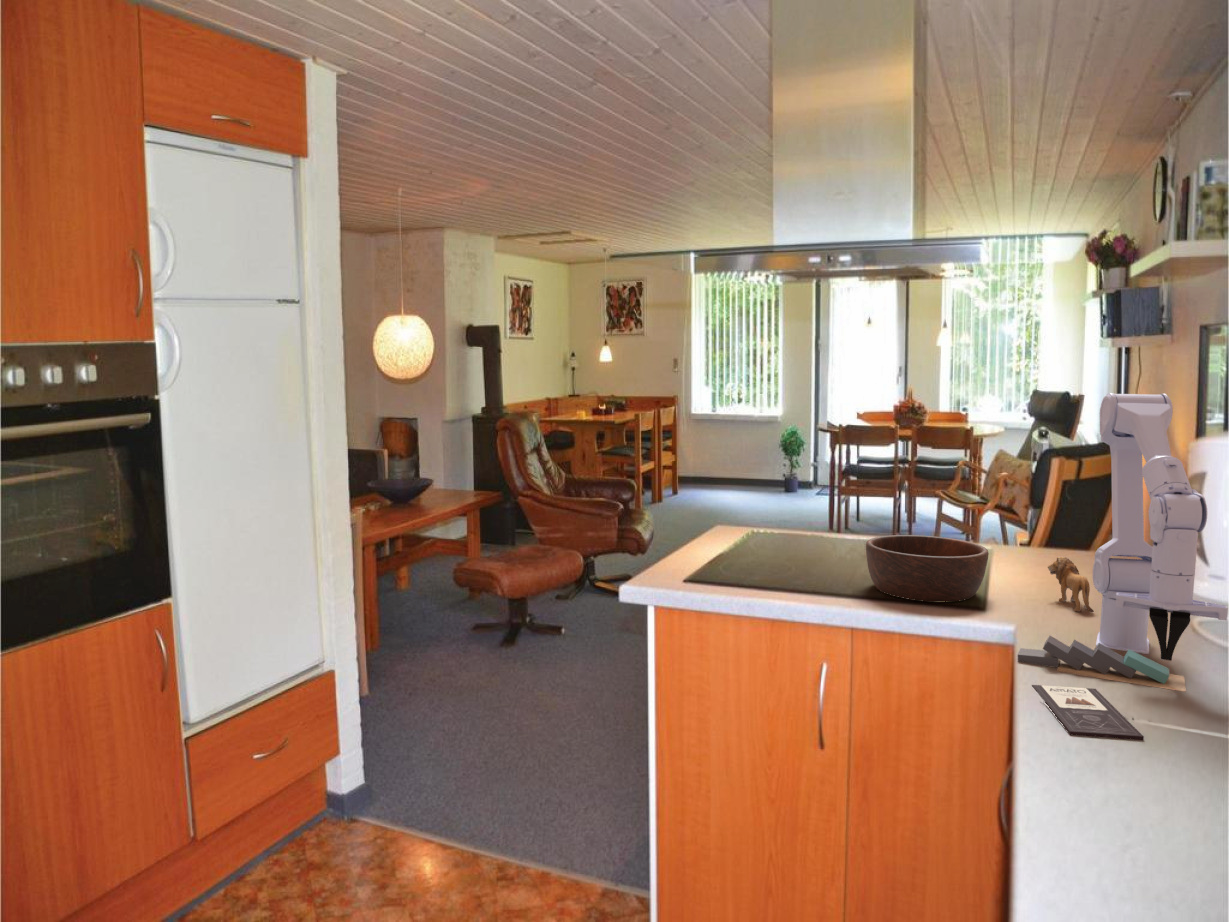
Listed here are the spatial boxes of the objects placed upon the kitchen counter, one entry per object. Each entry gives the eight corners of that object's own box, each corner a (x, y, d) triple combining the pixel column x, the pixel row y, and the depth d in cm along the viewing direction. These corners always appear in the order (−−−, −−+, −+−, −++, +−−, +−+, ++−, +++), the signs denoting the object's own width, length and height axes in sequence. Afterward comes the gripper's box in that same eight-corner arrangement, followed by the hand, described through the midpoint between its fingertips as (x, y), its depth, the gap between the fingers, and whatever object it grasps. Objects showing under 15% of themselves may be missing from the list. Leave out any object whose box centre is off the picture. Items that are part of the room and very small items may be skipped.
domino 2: (1078, 670, 145) (1042, 648, 148) (1080, 663, 149) (1045, 642, 151) (1084, 663, 145) (1047, 641, 147) (1085, 656, 148) (1049, 635, 151)
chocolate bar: (1070, 731, 121) (1031, 684, 138) (1069, 738, 121) (1031, 690, 139) (1143, 736, 119) (1095, 688, 137) (1143, 743, 119) (1095, 694, 137)
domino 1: (1058, 667, 147) (1017, 663, 150) (1060, 660, 150) (1020, 656, 153) (1058, 658, 147) (1017, 654, 150) (1060, 651, 150) (1020, 648, 153)
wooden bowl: (852, 597, 192) (854, 549, 191) (877, 574, 214) (879, 530, 213) (979, 613, 181) (981, 562, 180) (991, 587, 203) (994, 541, 202)
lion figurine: (1042, 596, 195) (1045, 554, 194) (1067, 596, 195) (1069, 554, 194) (1080, 615, 180) (1083, 570, 179) (1106, 615, 180) (1110, 570, 180)
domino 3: (1105, 674, 144) (1067, 653, 146) (1106, 667, 147) (1069, 647, 149) (1110, 667, 143) (1072, 645, 146) (1111, 660, 147) (1074, 639, 149)
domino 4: (1130, 678, 142) (1092, 656, 144) (1131, 671, 145) (1093, 650, 148) (1136, 671, 141) (1097, 649, 144) (1136, 664, 145) (1098, 642, 147)
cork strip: (1060, 659, 152) (1061, 657, 152) (1183, 678, 143) (1183, 676, 143) (1056, 673, 145) (1056, 670, 145) (1185, 694, 137) (1185, 691, 137)
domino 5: (1164, 684, 140) (1123, 663, 142) (1163, 676, 143) (1124, 657, 146) (1169, 676, 139) (1128, 655, 142) (1168, 668, 143) (1128, 649, 145)
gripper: (1117, 570, 140) (1111, 657, 141) (1231, 583, 132) (1224, 674, 134) (1119, 562, 146) (1113, 645, 147) (1228, 573, 139) (1220, 660, 140)
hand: (1166, 658), depth 141 cm, fingers closed
